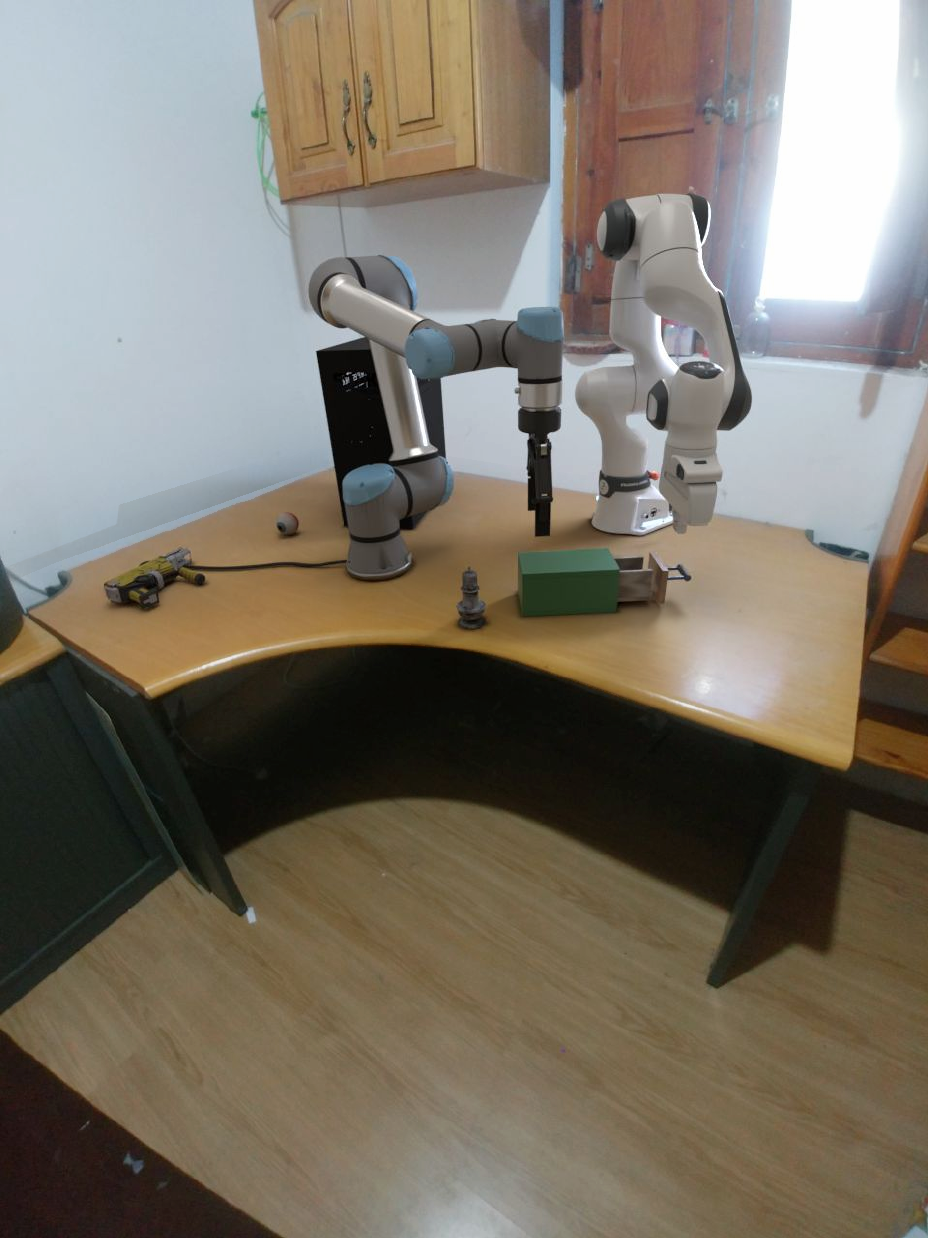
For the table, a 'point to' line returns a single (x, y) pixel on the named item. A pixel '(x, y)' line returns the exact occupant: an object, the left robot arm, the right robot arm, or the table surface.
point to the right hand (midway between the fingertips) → (678, 531)
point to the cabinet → (567, 582)
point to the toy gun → (150, 579)
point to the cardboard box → (367, 413)
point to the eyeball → (287, 523)
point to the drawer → (645, 578)
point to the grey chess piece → (471, 602)
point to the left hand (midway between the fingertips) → (538, 522)
